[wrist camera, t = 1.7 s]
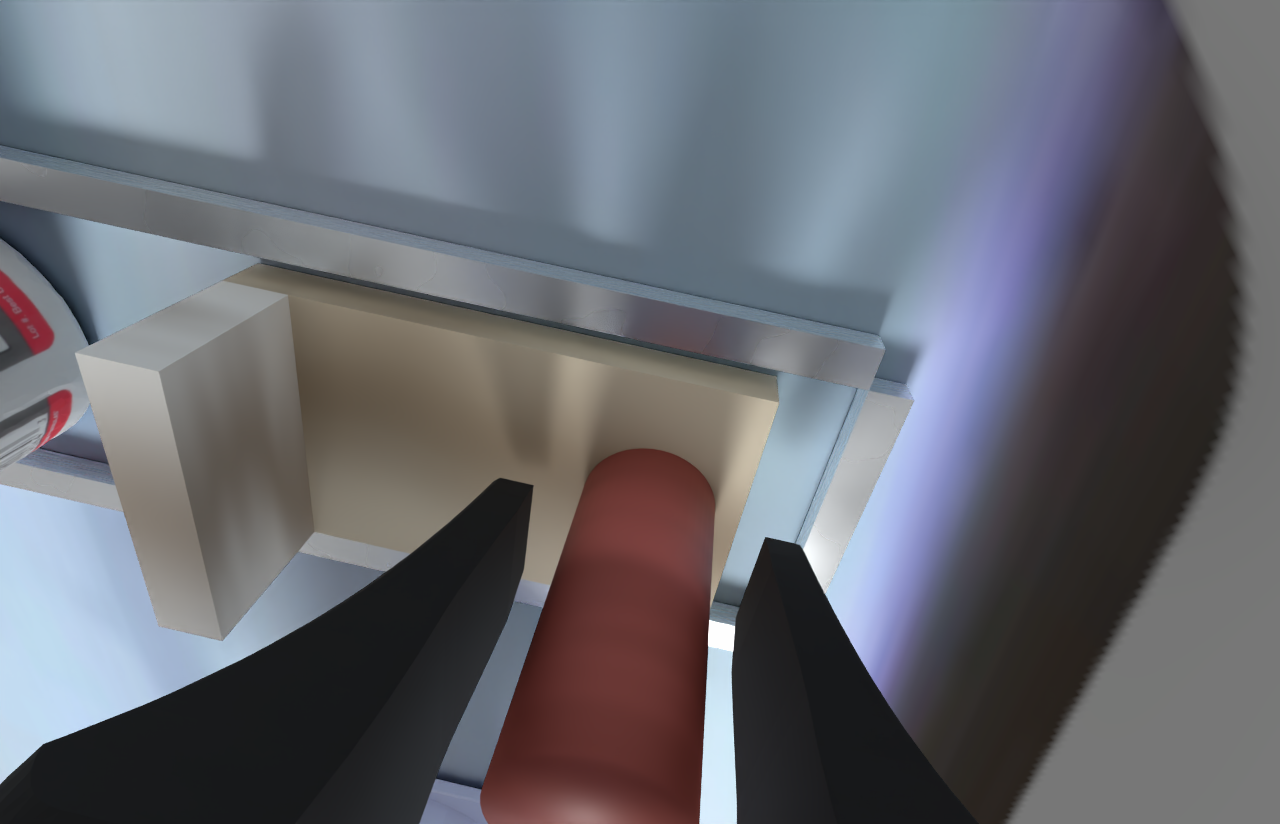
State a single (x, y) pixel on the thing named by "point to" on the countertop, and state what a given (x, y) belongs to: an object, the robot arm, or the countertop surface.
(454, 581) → the robot arm
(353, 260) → the track
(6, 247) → the pill bottle
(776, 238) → the countertop surface
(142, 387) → the red peg in tray
